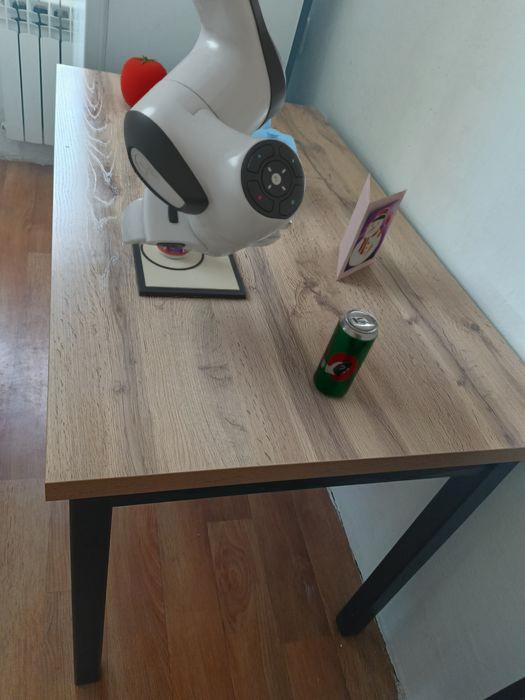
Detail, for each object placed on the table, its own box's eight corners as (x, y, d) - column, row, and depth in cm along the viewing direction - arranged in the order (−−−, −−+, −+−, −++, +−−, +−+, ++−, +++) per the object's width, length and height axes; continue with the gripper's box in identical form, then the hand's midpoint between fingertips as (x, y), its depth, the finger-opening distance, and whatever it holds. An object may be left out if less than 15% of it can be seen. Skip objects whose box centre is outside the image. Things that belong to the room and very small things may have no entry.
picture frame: (139, 295, 77) (139, 289, 76) (128, 218, 90) (128, 212, 89) (245, 299, 82) (247, 293, 81) (220, 225, 95) (221, 220, 94)
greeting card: (340, 283, 91) (374, 205, 81) (308, 260, 94) (337, 182, 84) (376, 265, 99) (411, 191, 89) (345, 243, 102) (376, 170, 92)
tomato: (169, 121, 121) (175, 71, 114) (121, 115, 117) (124, 62, 110) (162, 102, 128) (167, 53, 121) (116, 95, 124) (119, 45, 117)
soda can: (353, 397, 73) (389, 333, 65) (321, 402, 70) (354, 336, 62) (336, 370, 76) (368, 305, 68) (305, 374, 74) (334, 307, 65)
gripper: (297, 195, 67) (254, 219, 80) (131, 184, 59) (113, 213, 72) (299, 246, 67) (256, 262, 80) (134, 242, 59) (116, 261, 72)
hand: (187, 239), depth 76 cm, fingers open, 8 cm apart
